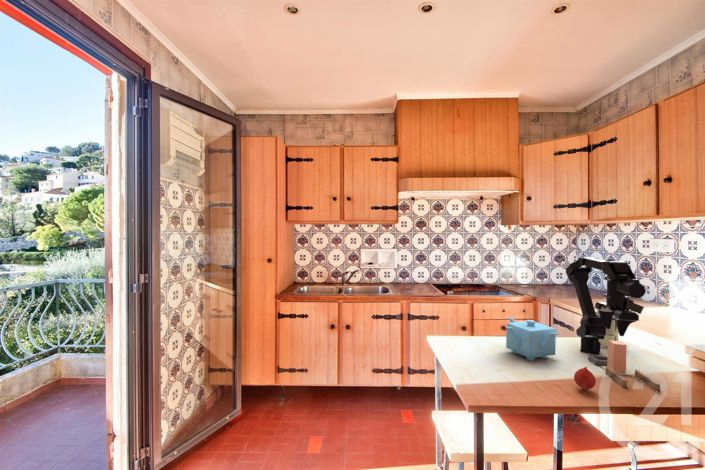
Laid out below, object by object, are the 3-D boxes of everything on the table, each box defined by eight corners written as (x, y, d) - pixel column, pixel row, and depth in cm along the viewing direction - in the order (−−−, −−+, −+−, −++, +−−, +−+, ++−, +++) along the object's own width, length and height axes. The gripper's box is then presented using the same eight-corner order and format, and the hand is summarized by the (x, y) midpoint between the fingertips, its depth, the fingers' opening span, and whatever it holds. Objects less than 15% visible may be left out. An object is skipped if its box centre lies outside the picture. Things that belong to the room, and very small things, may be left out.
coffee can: (586, 339, 155) (587, 310, 154) (612, 342, 151) (613, 313, 151) (595, 346, 145) (596, 316, 145) (622, 349, 142) (623, 318, 141)
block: (607, 367, 121) (608, 340, 121) (619, 368, 120) (620, 341, 120) (613, 371, 117) (614, 343, 117) (625, 373, 116) (626, 344, 116)
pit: (588, 359, 130) (588, 354, 130) (616, 362, 127) (616, 357, 127) (595, 365, 124) (595, 360, 124) (625, 368, 122) (625, 363, 122)
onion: (569, 386, 106) (570, 362, 106) (585, 385, 107) (586, 362, 107) (583, 395, 101) (584, 370, 100) (600, 394, 101) (600, 370, 101)
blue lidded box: (552, 352, 137) (553, 318, 137) (558, 368, 120) (560, 330, 120) (504, 344, 145) (505, 312, 145) (504, 358, 129) (505, 323, 128)
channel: (605, 373, 117) (605, 366, 117) (638, 377, 114) (638, 370, 114) (623, 387, 106) (623, 380, 106) (660, 392, 104) (660, 384, 104)
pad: (601, 366, 123) (601, 365, 123) (622, 369, 121) (622, 368, 121) (609, 373, 117) (609, 372, 117) (632, 375, 115) (632, 374, 115)
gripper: (657, 299, 113) (655, 342, 113) (625, 290, 131) (624, 327, 131) (620, 297, 116) (619, 339, 116) (594, 288, 134) (593, 325, 134)
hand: (614, 332), depth 124 cm, fingers open, 9 cm apart
